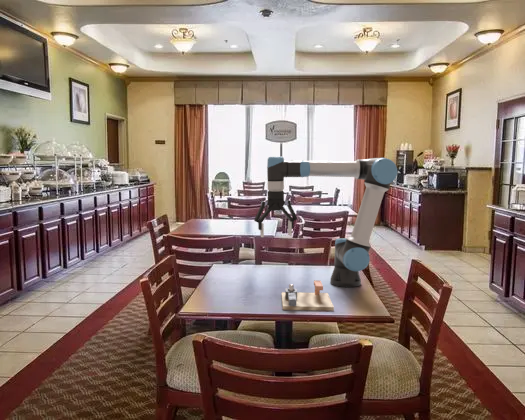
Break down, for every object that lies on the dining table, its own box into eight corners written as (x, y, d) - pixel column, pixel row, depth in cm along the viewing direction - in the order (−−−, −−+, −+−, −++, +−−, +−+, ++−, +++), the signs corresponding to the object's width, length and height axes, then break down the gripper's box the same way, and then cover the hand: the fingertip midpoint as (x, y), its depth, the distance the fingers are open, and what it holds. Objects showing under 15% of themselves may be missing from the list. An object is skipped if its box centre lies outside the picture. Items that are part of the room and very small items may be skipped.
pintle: (296, 295, 207) (296, 283, 206) (296, 298, 202) (297, 286, 201) (285, 295, 207) (285, 283, 206) (285, 298, 202) (286, 286, 201)
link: (285, 294, 207) (285, 288, 206) (296, 295, 207) (296, 288, 206) (286, 305, 191) (286, 298, 191) (298, 306, 191) (298, 299, 191)
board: (327, 296, 211) (327, 292, 211) (333, 310, 191) (333, 307, 191) (281, 295, 211) (281, 292, 211) (282, 309, 192) (282, 306, 191)
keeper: (320, 293, 210) (320, 280, 209) (322, 299, 201) (323, 286, 200) (313, 293, 210) (313, 280, 209) (315, 299, 201) (316, 286, 200)
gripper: (298, 189, 220) (298, 233, 222) (247, 190, 213) (248, 236, 215) (304, 190, 213) (304, 235, 215) (251, 191, 206) (252, 239, 208)
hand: (276, 236), depth 215 cm, fingers open, 13 cm apart
